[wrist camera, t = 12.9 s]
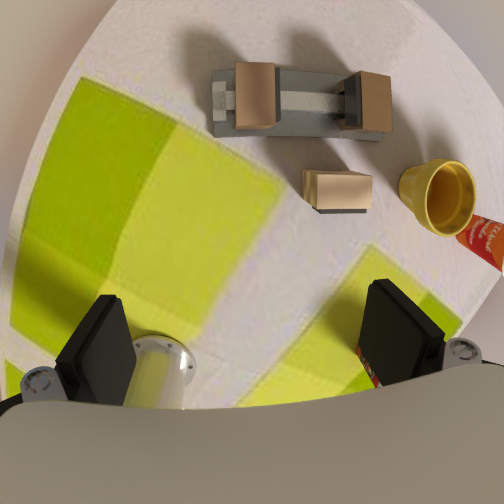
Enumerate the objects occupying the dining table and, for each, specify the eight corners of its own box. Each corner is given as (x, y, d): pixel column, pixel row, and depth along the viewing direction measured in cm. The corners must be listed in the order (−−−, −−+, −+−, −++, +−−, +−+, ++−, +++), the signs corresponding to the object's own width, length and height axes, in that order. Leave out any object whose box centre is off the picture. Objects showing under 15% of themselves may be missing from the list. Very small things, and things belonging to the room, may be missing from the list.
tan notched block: (349, 202, 41) (370, 213, 34) (302, 202, 40) (316, 214, 34) (350, 170, 39) (372, 176, 32) (302, 169, 39) (317, 174, 32)
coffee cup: (472, 198, 42) (532, 220, 28) (482, 232, 45) (536, 260, 31) (445, 225, 43) (505, 255, 29) (457, 258, 46) (510, 293, 32)
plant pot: (378, 169, 39) (415, 177, 30) (427, 145, 38) (468, 149, 29) (398, 229, 43) (434, 250, 34) (443, 203, 42) (481, 218, 33)
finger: (234, 129, 35) (236, 125, 28) (234, 77, 32) (235, 62, 26) (271, 128, 35) (281, 125, 29) (270, 77, 33) (280, 63, 26)
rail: (214, 137, 36) (211, 135, 28) (213, 72, 33) (209, 54, 25) (378, 141, 38) (409, 142, 30) (376, 82, 35) (406, 73, 27)
